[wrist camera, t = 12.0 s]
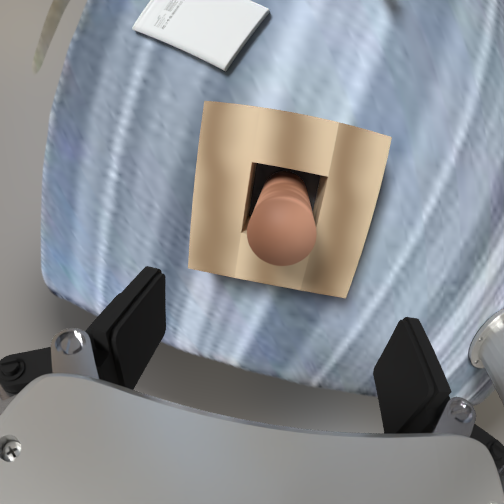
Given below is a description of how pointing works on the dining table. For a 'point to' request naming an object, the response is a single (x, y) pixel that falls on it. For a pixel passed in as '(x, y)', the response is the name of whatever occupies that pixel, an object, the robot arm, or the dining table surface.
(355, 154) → the socket block
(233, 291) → the dining table surface
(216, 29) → the external hard drive
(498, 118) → the dining table surface
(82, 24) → the dining table surface
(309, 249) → the peg
